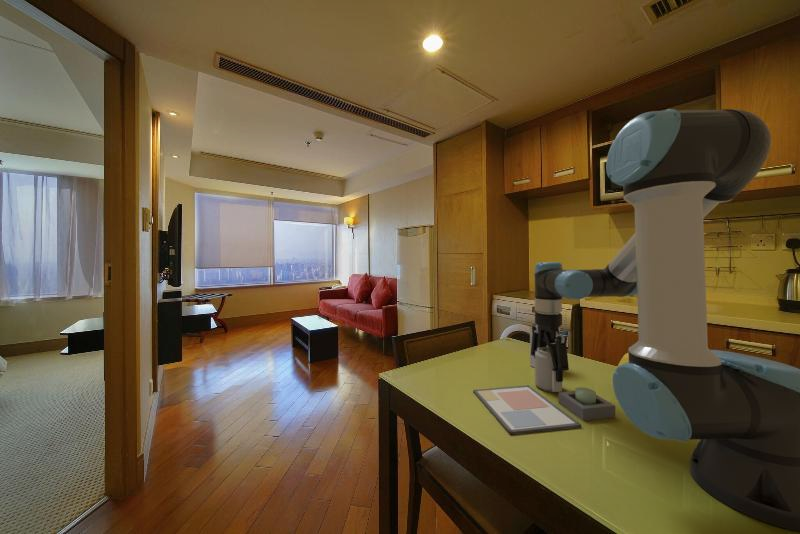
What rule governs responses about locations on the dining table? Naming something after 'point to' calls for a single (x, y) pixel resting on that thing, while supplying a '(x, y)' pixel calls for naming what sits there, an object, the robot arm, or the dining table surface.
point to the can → (543, 368)
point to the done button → (585, 396)
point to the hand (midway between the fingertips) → (548, 385)
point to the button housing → (586, 407)
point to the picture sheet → (524, 410)
